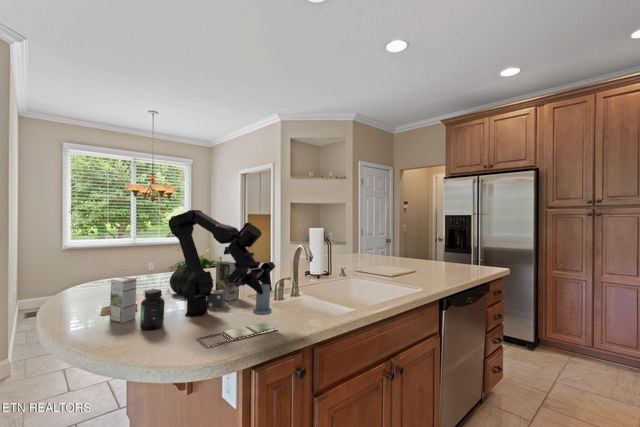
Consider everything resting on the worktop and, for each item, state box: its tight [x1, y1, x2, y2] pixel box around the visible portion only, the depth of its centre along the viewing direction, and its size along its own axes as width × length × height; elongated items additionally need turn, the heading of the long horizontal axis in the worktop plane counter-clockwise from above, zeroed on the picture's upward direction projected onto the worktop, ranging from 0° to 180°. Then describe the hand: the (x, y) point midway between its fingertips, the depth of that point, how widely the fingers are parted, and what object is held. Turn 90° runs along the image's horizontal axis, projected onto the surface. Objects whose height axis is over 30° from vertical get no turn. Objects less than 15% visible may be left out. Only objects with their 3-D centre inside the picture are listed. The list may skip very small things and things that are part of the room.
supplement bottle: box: [139, 289, 165, 332], centre depth 105 cm, size 7×7×12 cm
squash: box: [169, 264, 189, 295], centre depth 151 cm, size 14×15×15 cm
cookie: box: [99, 304, 138, 317], centre depth 123 cm, size 12×12×1 cm
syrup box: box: [109, 276, 137, 324], centre depth 112 cm, size 6×6×14 cm
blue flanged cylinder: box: [252, 283, 273, 316], centre depth 107 cm, size 6×6×9 cm
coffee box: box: [215, 260, 240, 302], centre depth 145 cm, size 9×6×16 cm
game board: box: [195, 322, 277, 348], centre depth 101 cm, size 24×8×1 cm, turn 131°
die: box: [206, 289, 226, 309], centre depth 131 cm, size 6×6×6 cm
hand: (266, 292), depth 106 cm, fingers closed on blue flanged cylinder, 4 cm apart
